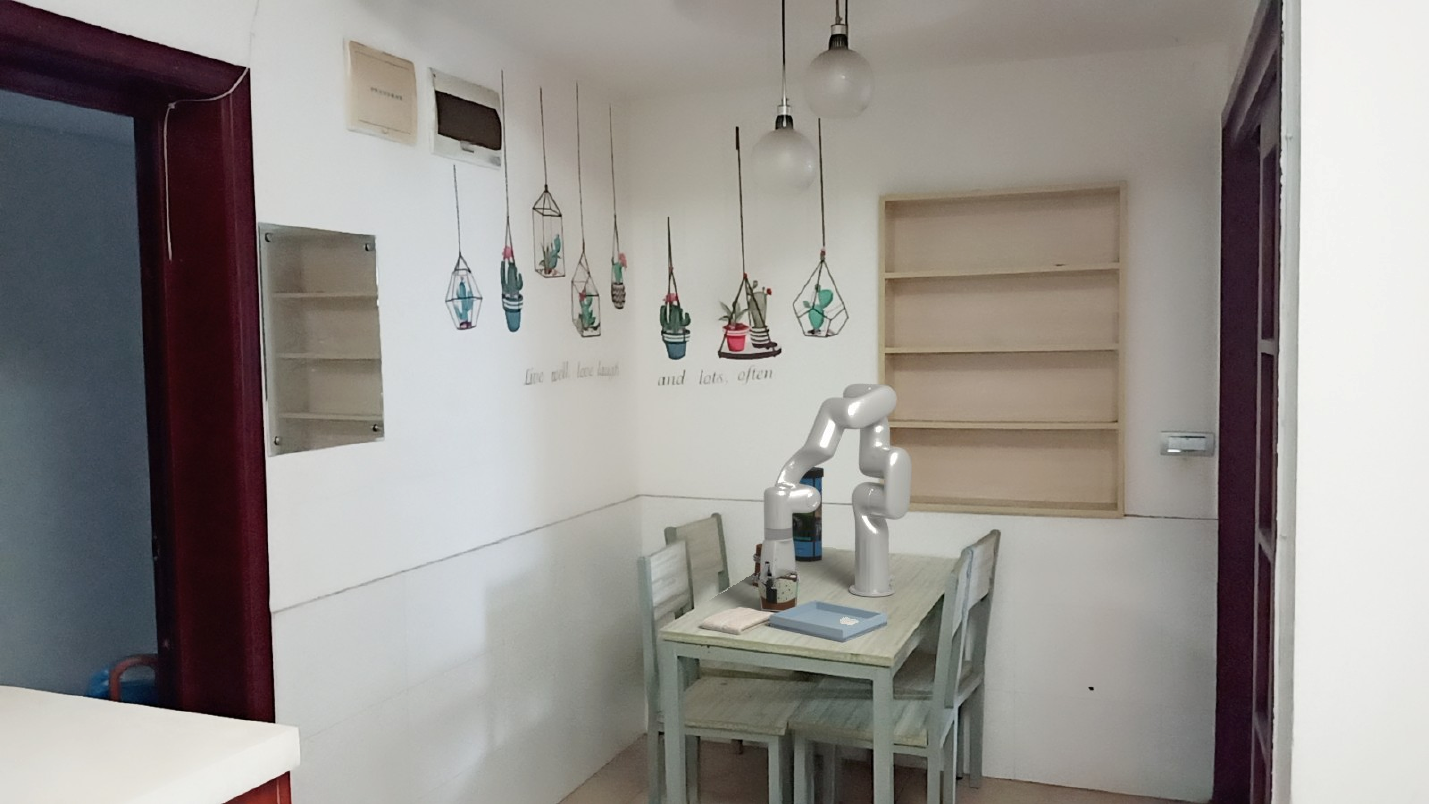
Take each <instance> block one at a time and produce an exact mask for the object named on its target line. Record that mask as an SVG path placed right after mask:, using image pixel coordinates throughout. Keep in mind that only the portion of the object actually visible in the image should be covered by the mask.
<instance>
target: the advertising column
mask: <svg viewBox="0 0 1429 804" xmlns="http://www.w3.org/2000/svg"><path fill="white" fill-rule="evenodd" d="M824 474H825V469H824V468H823V467H821V466H820V467H819V466H815V467H813V468H811V469H810V470H809V471H807V472H806V473H805V474H804V476H803V477H802V478H801V480H800V482H799V484H804V485H809V486H812V487H814V488H816V489H817V490H818V491H819V493H820V496H821V502H820V505H819V506H818V508H817V509H816V510H814V511H812V512H809V513H793V514H792V537H793V543H794V551H795V562H796V561H797V562H807V563H808V562H810V563H812V562H818V561H822V559H823V523H822V522H823V510H822V509H823V478H824V476H825V475H824Z"/></svg>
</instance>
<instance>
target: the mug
mask: <svg viewBox="0 0 1429 804" xmlns="http://www.w3.org/2000/svg"><path fill="white" fill-rule="evenodd" d="M761 549H762V543H758V544H756V547H755V553H754V554H753V556H752V559H753V562H754V573H752V574H751V581H752V585H753V586H755V587H757V588H759V586H758V580H756V575H757V573H758V572H760V564H761Z"/></svg>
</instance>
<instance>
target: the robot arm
mask: <svg viewBox="0 0 1429 804" xmlns="http://www.w3.org/2000/svg"><path fill="white" fill-rule="evenodd" d="M897 402H898V397H897V393H896V391H895V390H894V388H892V386H889V385H886V384H872V383H852V384H849V385H848V386H846V387H845V388H844V390H843V393H842V397H839V396H838V397H837V396H836V397H830V398H827V399H825V400H823V402H822V403H821V405H820V408H819V409H818V411H817V415H816V416H815V419H814V421H813V424H812V427H811V429H810V432H809V433H808V436H807V439H806V441H805V443H804V445H802V447H800V449H798V450H797V451H796V452H795V453H794V454H793V455H792V456H791V457H790V458H789V459H788V460H787V461H786V462H785V464H784V465H783V466H782V468H781V470H780V471H779V474H778V476H777V479H776V480H775V483H774V486H771V487H770V486H769V487H767V488H765V490H764V491H763V529H764V531H763V532H764V533H763V535H764V537H763V538H764V539H763V540H762V543H761V544H762V549H761V564H760V572H761V575H760V577H759V578H760V580H761V581H762V582H763V584H764V585H765V588H766V602H767V603H773V604H776V603H777V589H775V586H776V582H777V578H779V577H781V576H785V575H788V574H791V573H792V571H796V572H797V570H798V565H797V564H796V561H795V551H794V543H793V537H792V514H793V513H809V512H812V511H814V510H816V509H817V508H818V506H819V505H820V502H821V496H820V493H819V491H818V490H817V489H816V488H814V487H812V486H809V485H804V484H799V482H800V480H801V478H802V477H803V476H804V474H805V473H806V472H807V471H809V470H810V469H811V468H813V467H818V466H819V465H821V464H823V463H825V462H827V461H830V460H831V459H832V458H833V457H834V456H835V454H836V451H837V448H838V446H839V443H840V441H841V439H842V436H843V434H844V431H845V430H846V429H847V430H859V445H858V446H859V448H858V451H859V452H858V469H859V471H860V472H861V474H862V475H864V476H865V477H869V478H874V479H881V480H883V481H884V483H883V482H882V483H881V482H875V481H864V482H861V483H859V484H858V485H856V486H855V487H854V489H853V491H852V493H851V506H852V511H853V518H854V584H853V585H852V584H851V586H849V592H850V593H851V594H853V595H856V596H860V597H873V598H874V597H876V598H877V597H878V598H879V597H887V596H890V595H893V594H894V593H895V589H894V586H891V585H890V582H893V581H895V580H896V575H894V574H893V573H890V574H889V563H890V561H889V557H890V555H889V545H890V544H889V541H890V540H889V538H890V537H889V536H890V535H889V534H890V532H889V531H890V530H889V526H888V522H887V519H888V520H901V519H902V518H904V517H905V516H906V514H907V513H908V510H909V508H910V503H911V491H912V489H911V488H912V473H913V471H912V467H913V466H912V459H911V458H910V455H909V453H908V452H907V451H906V450H905V448H903V447H900V446H896V445H895V446H893V445H891V434H890V433H891V429H890V428H891V427H890V422H889V420H888V417H887V416H889V415H891V413H893V411H894V410H895V409H896V406H897V404H898V403H897ZM771 575H772V576H771ZM770 579H773V580H772V583H771V581H770Z"/></svg>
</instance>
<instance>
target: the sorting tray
mask: <svg viewBox="0 0 1429 804" xmlns="http://www.w3.org/2000/svg"><path fill="white" fill-rule="evenodd" d="M843 617H844V618H845V617H848V618H850V619H856V620H858V621H859V622H858V623H855V624H853V625H847V624H841V623H840V619H842V618H843ZM887 625H888V613H886V612H881V611H875V610H870V609H865V608H859V607H854V606H850V605H849V606H848V605H843V604H838V603H832V602H827V601H820V600H816V599H815V600H812V601H809V602H805V603H803V604H799V605H796V607H793V608H790V609H787V610H784V611H777V612H775V613H774V614H772V615H770V623H769V627H770V628H774V629H779V630H783V631H788V632H792V633H796V634H801V635H806V636H811V637H816V638H819V639H825V640H829V641H834V642H835V641H836V642H839V643H846V642H848V641H850V640H852V639H855V638H858V637H861V636H864V635H865V634H868V633H871V632H874V631H875V630H878V629H880V628H884V627H885V626H887Z"/></svg>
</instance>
